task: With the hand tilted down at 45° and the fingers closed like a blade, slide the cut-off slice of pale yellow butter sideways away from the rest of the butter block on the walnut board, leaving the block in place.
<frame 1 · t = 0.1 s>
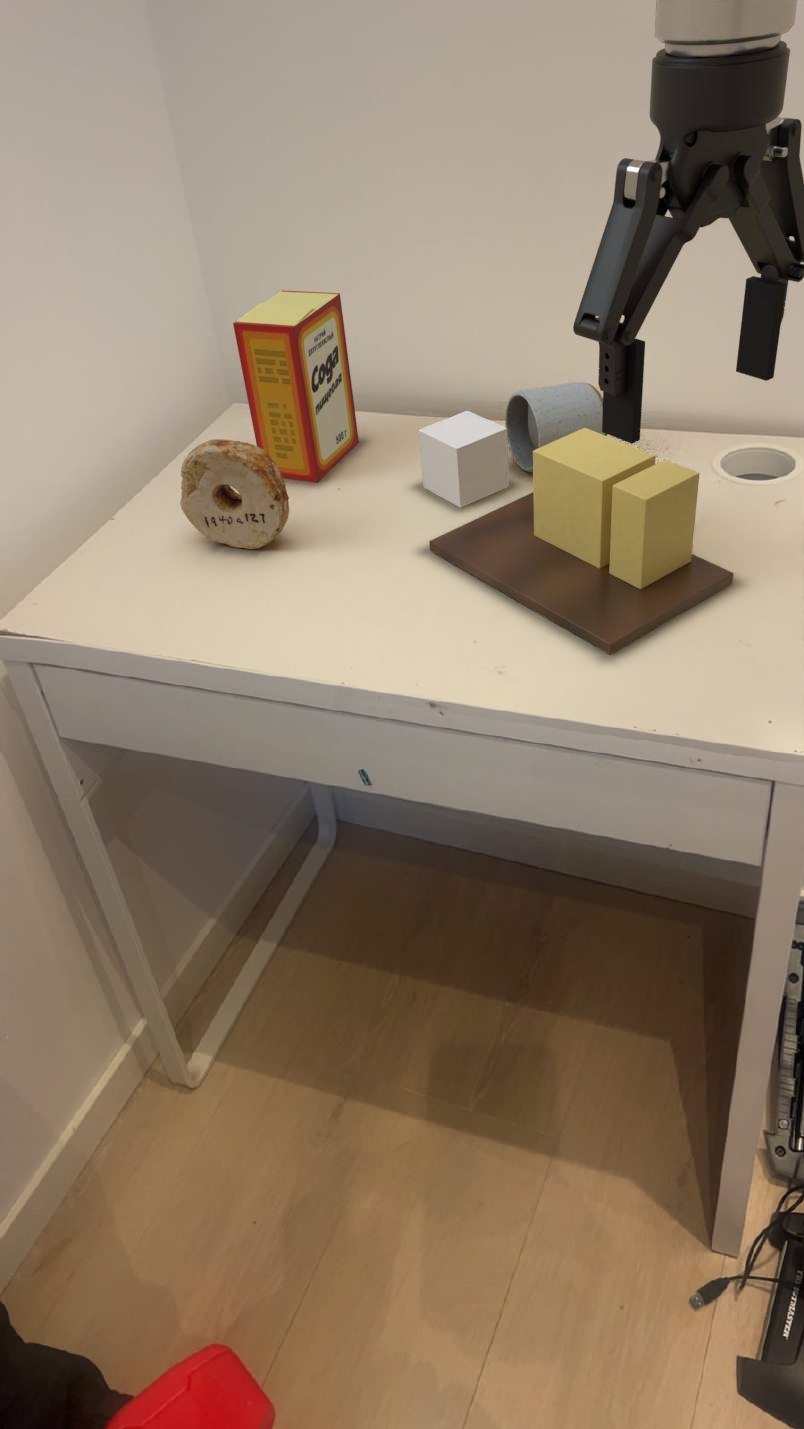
hand: (690, 404, 72), 17 cm above the table, tool pointing down, fingers open, 13 cm apart
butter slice: (650, 567, 85), point 1 cm above the table, touching butter board
white cube: (465, 488, 101), on the table
ceramic mug: (548, 457, 105), on the table
baking soda box: (311, 460, 110), on the table
butter block: (591, 538, 90), point 1 cm above the table, touching butter board
butter board: (574, 566, 88), on the table
stone disc: (245, 542, 97), on the table
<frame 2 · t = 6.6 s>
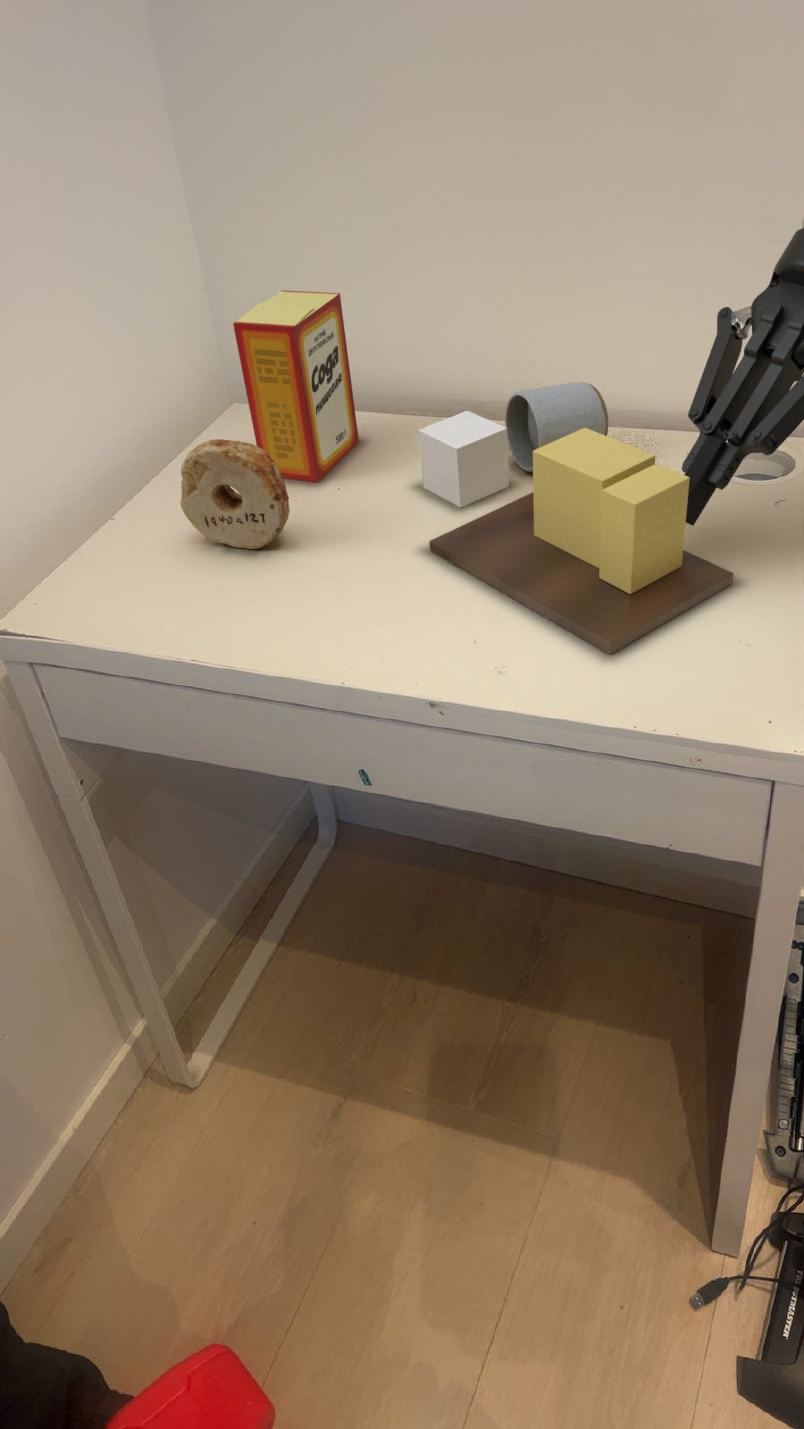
hand: (679, 516, 84), 4 cm above the table, tool tilted 45°, fingers closed
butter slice: (640, 572, 85), point 1 cm above the table, touching gripper
everything else where it was.
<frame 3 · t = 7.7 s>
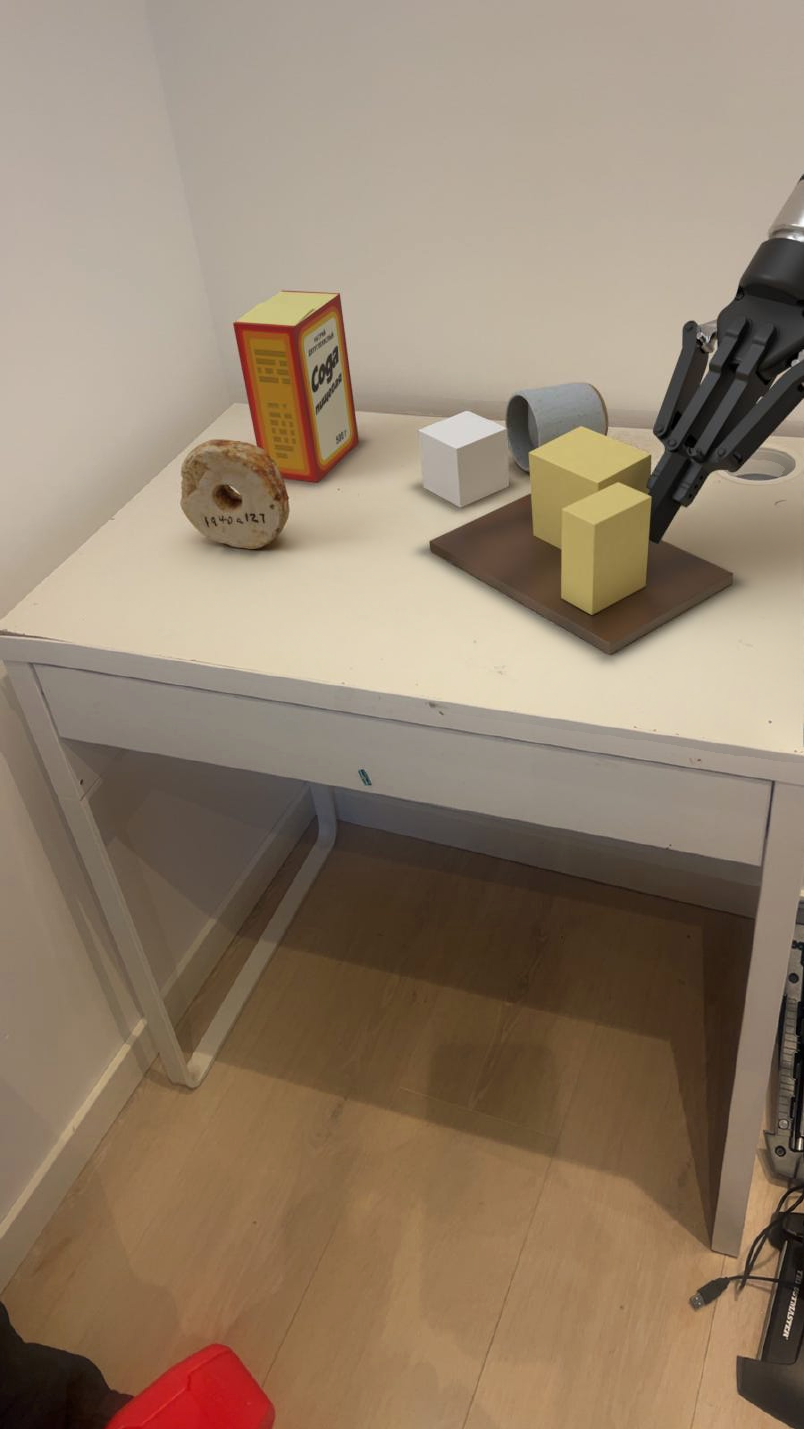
hand: (643, 534, 82), 5 cm above the table, tool tilted 45°, fingers closed
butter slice: (603, 592, 83), point 1 cm above the table, touching gripper
butter block: (590, 537, 89), point 1 cm above the table, touching butter board, gripper
everything else where it was.
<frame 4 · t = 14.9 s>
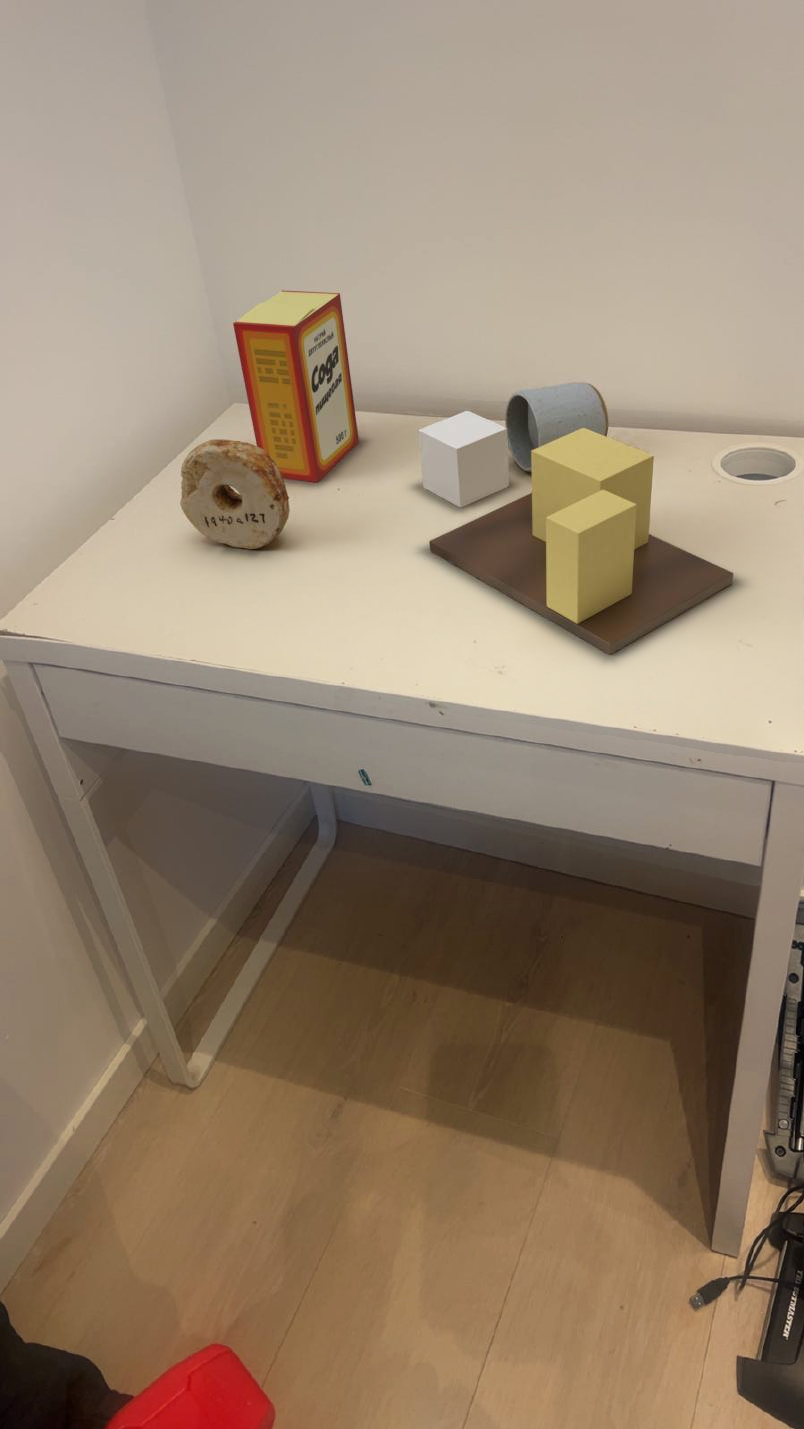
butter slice: (589, 600, 82), point 1 cm above the table, touching butter board
butter block: (589, 538, 90), point 1 cm above the table, touching butter board
everything else where it was.
at the end: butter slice moved 6.9 cm from its start; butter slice tilted 0°; butter block moved 0.1 cm from its start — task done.
